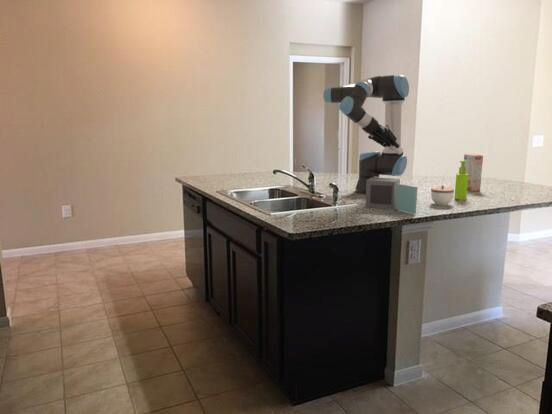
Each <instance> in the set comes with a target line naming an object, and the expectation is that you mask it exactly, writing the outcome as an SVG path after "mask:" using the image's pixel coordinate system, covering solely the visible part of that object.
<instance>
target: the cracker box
mask: <svg viewBox="0 0 552 414" xmlns="http://www.w3.org/2000/svg"><path fill="white" fill-rule="evenodd" d="M483 159H484V156H483V155H482V154H481V155H480V154H475V153H464V155H463V161H469V162H471V163H468V162H465V167H466V174H468V184H467V191H470V192H481V183H482V170H483V163H484V160H483Z"/></svg>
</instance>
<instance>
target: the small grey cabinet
mask: <svg viewBox="0 0 552 414" xmlns="http://www.w3.org/2000/svg"><path fill="white" fill-rule="evenodd" d="M400 181H401V179H400V178H393V177H392V178H391V177H380V176H379V177H374V178H373V177H371V178H370V179H368V180H366V194H365V208H375V209H377V208H378V209H388V210H389V209H391V210H394V209H393V205H394V183H397V184H401V183H400Z"/></svg>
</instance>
